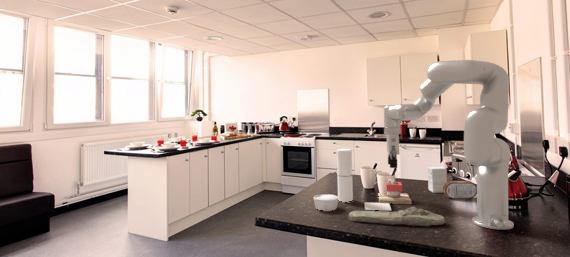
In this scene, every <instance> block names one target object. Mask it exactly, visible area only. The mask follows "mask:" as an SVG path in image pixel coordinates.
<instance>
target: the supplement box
mask: <svg viewBox="0 0 570 257" xmlns="http://www.w3.org/2000/svg"><path fill="white" fill-rule="evenodd" d="M427 181H428V182H427V183H428V184H427V185H428V188H427V189H428V191H430V192H431V193H433V194H434V193H439V194H444V192H443V187H444V185H445V184H446V183H447V182H448V170H447V168H446V167H443V166H427Z"/></svg>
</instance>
